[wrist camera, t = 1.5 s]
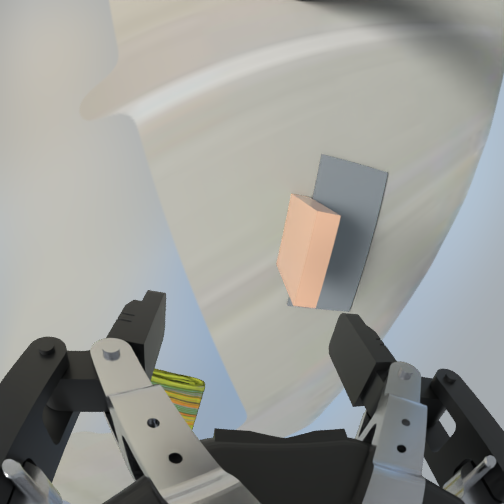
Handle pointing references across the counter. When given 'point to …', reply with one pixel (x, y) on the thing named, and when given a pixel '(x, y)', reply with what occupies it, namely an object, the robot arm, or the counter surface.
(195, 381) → the dish towel
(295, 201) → the tile
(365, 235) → the mat
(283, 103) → the counter surface
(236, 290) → the counter surface
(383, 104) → the counter surface
